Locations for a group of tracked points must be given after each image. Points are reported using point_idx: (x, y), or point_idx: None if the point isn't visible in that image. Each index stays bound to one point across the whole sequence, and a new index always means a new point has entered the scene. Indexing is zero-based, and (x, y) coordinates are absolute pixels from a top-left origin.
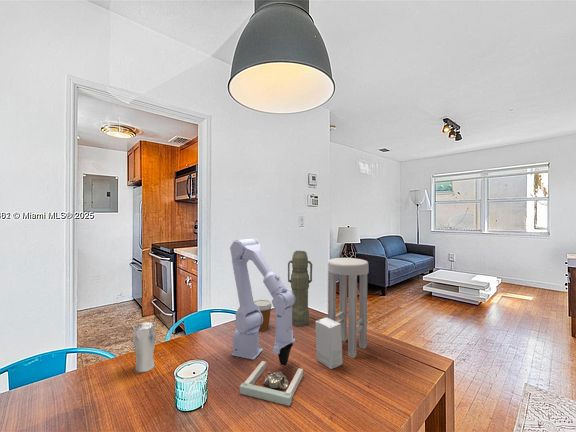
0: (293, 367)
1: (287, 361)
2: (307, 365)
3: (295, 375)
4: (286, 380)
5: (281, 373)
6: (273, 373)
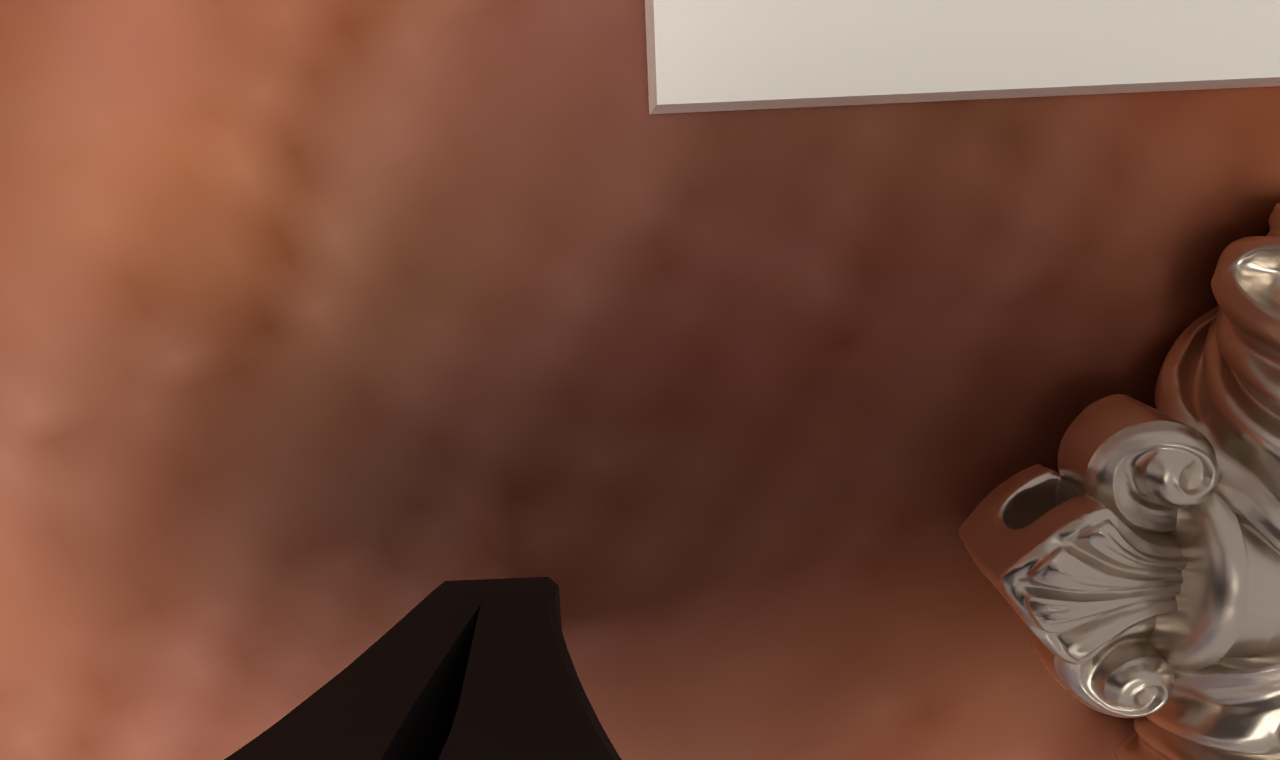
0: (372, 379)
1: (452, 607)
2: (62, 16)
3: (1133, 53)
4: (1270, 283)
5: (1125, 527)
6: (1277, 726)
